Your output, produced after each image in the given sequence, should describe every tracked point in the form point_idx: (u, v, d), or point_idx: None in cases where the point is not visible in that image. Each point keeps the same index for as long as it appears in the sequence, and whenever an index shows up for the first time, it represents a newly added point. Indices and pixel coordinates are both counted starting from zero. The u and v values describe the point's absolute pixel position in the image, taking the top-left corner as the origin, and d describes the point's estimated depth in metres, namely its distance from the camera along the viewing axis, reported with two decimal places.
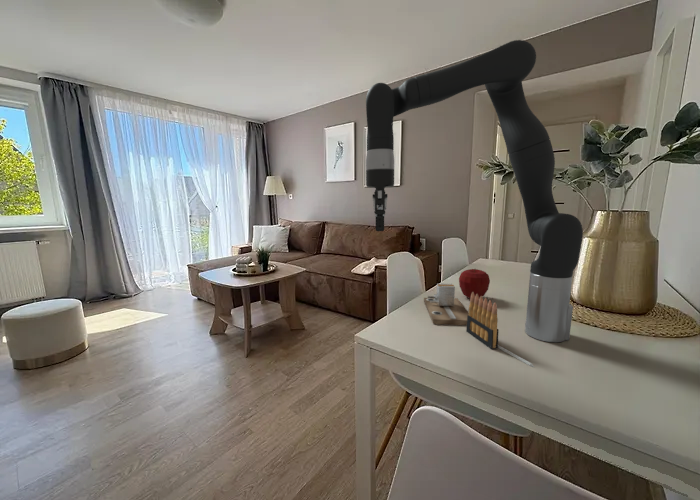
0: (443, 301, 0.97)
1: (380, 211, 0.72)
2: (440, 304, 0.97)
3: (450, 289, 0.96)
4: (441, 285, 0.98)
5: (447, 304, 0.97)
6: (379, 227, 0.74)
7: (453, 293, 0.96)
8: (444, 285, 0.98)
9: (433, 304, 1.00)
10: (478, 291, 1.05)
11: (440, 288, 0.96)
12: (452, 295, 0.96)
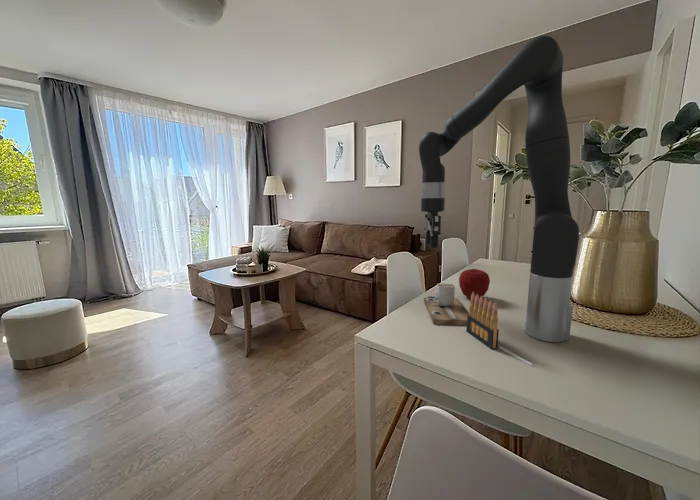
0: (443, 301, 0.97)
1: (437, 232, 0.90)
2: (440, 304, 0.97)
3: (450, 289, 0.96)
4: (441, 285, 0.98)
5: (447, 304, 0.97)
6: (434, 244, 0.93)
7: (453, 293, 0.96)
8: (444, 285, 0.98)
9: (433, 304, 1.00)
10: (478, 291, 1.05)
11: (440, 288, 0.96)
12: (452, 295, 0.96)
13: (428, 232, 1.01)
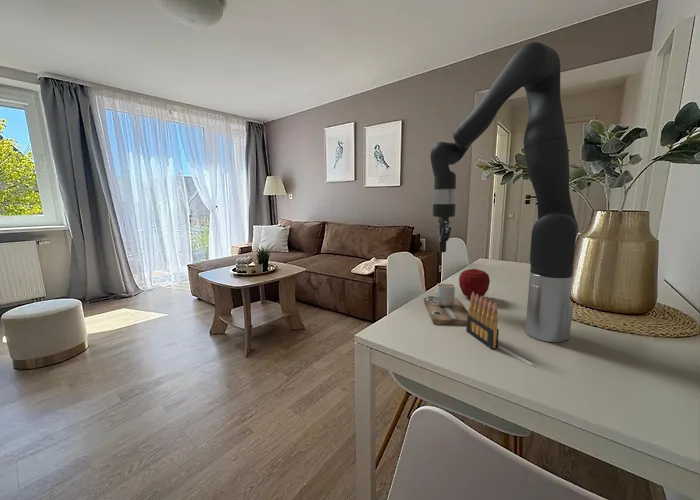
0: (443, 301, 0.97)
1: (445, 238, 0.99)
2: (440, 304, 0.97)
3: (450, 289, 0.96)
4: (441, 285, 0.98)
5: (447, 304, 0.97)
6: (442, 249, 1.02)
7: (453, 293, 0.96)
8: (444, 285, 0.98)
9: (433, 304, 1.00)
10: (478, 291, 1.05)
11: (440, 288, 0.96)
12: (452, 295, 0.96)
13: None
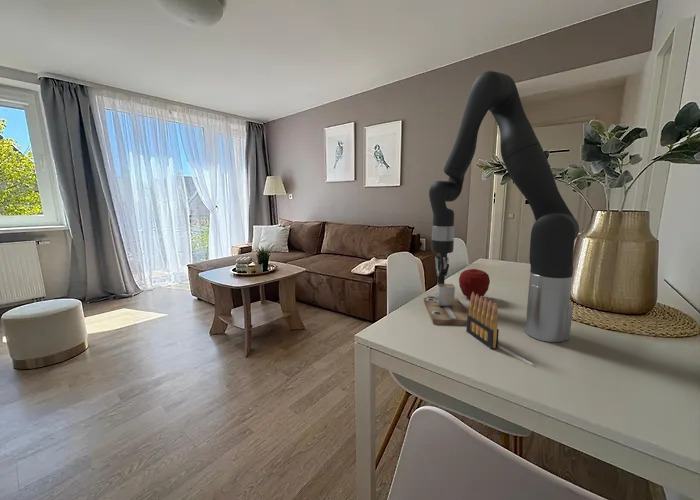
0: (443, 301, 0.97)
1: (443, 274, 1.01)
2: (440, 304, 0.97)
3: (450, 289, 0.96)
4: (441, 285, 0.98)
5: (447, 304, 0.97)
6: None
7: (453, 293, 0.96)
8: (444, 285, 0.98)
9: (433, 304, 1.00)
10: (478, 291, 1.05)
11: (440, 288, 0.96)
12: (452, 295, 0.96)
13: None
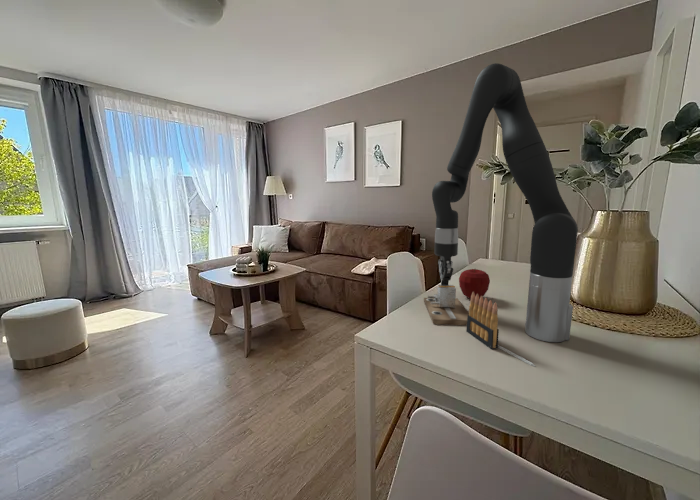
0: (444, 303, 0.95)
1: (447, 278, 0.97)
2: (441, 305, 0.96)
3: (451, 291, 0.94)
4: (442, 286, 0.96)
5: (448, 305, 0.95)
6: None
7: (454, 294, 0.94)
8: (445, 286, 0.96)
9: (433, 304, 1.00)
10: (478, 291, 1.05)
11: (441, 289, 0.95)
12: (453, 296, 0.95)
13: None
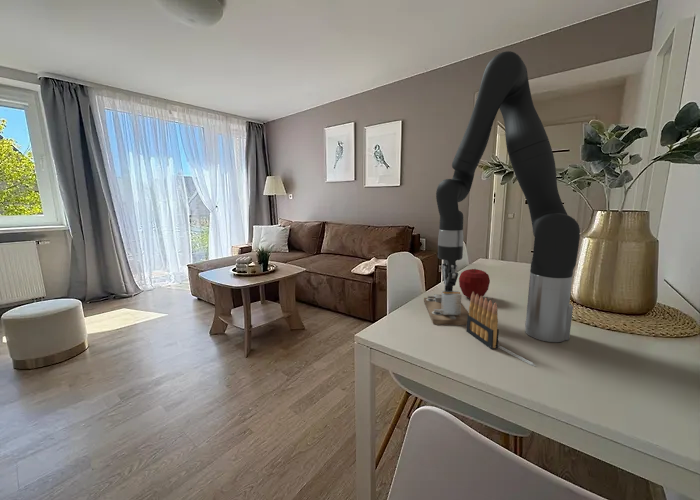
0: (448, 310, 0.89)
1: (451, 283, 0.90)
2: (445, 313, 0.89)
3: (457, 297, 0.88)
4: (446, 292, 0.90)
5: (453, 313, 0.89)
6: None
7: (459, 301, 0.88)
8: (450, 292, 0.90)
9: (433, 304, 1.00)
10: (478, 291, 1.05)
11: (445, 296, 0.88)
12: (458, 304, 0.88)
13: None
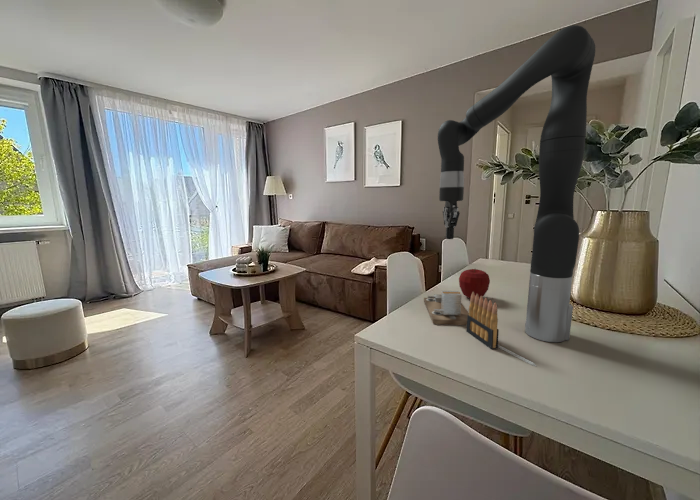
0: (448, 310, 0.89)
1: (453, 224, 0.93)
2: (445, 313, 0.89)
3: (457, 297, 0.88)
4: (446, 292, 0.90)
5: (453, 313, 0.89)
6: (450, 236, 0.96)
7: (459, 301, 0.88)
8: (450, 292, 0.90)
9: (433, 304, 1.00)
10: (478, 291, 1.05)
11: (445, 296, 0.88)
12: (458, 304, 0.88)
13: None
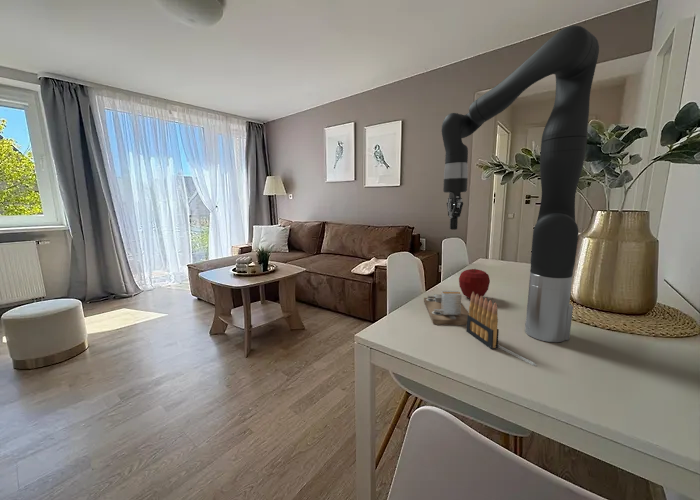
0: (448, 310, 0.89)
1: (456, 214, 0.96)
2: (445, 313, 0.89)
3: (457, 297, 0.88)
4: (446, 292, 0.90)
5: (453, 313, 0.89)
6: (454, 226, 0.98)
7: (459, 301, 0.88)
8: (450, 292, 0.90)
9: (433, 304, 1.00)
10: (477, 291, 1.05)
11: (445, 296, 0.88)
12: (458, 304, 0.88)
13: None
